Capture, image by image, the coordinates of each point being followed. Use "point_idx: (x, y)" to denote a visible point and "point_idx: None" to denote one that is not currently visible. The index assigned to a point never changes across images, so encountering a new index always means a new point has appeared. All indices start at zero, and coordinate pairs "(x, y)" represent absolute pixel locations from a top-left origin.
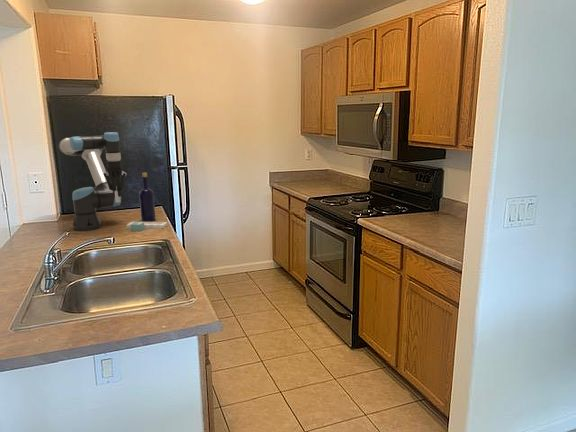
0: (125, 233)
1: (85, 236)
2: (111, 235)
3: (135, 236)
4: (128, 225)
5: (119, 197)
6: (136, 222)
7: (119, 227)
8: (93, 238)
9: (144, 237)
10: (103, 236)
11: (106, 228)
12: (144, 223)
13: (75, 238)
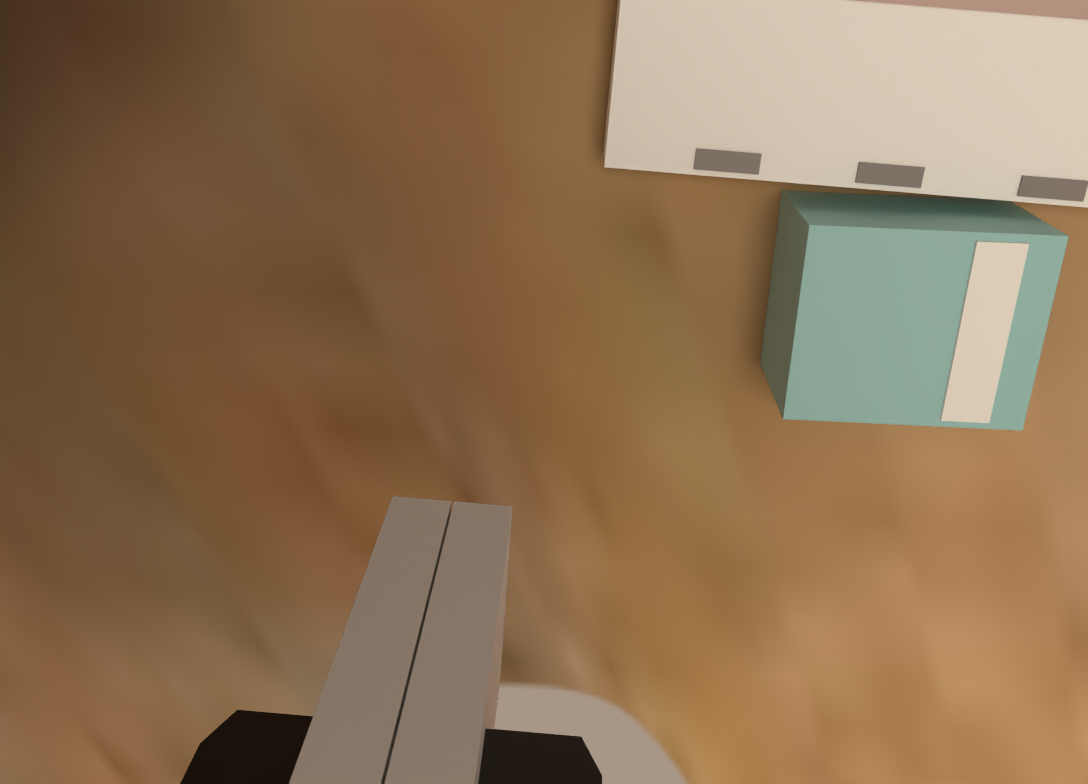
0: (701, 512)
1: (91, 637)
2: None
3: (924, 686)
4: (660, 168)
5: (493, 677)
6: (884, 231)
7: (414, 53)
8: None
9: (1083, 742)
10: None
11: (164, 130)
12: (1024, 25)
13: (5, 723)
